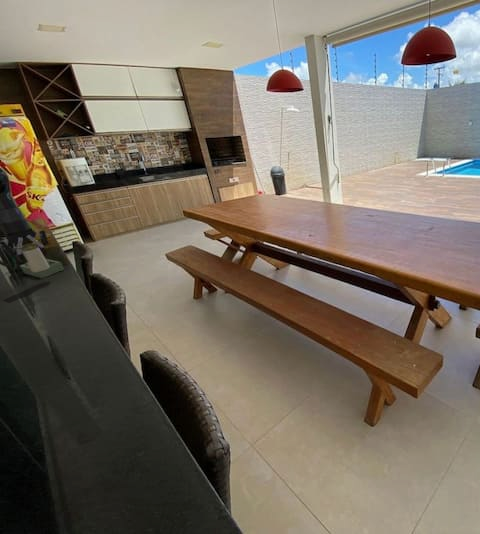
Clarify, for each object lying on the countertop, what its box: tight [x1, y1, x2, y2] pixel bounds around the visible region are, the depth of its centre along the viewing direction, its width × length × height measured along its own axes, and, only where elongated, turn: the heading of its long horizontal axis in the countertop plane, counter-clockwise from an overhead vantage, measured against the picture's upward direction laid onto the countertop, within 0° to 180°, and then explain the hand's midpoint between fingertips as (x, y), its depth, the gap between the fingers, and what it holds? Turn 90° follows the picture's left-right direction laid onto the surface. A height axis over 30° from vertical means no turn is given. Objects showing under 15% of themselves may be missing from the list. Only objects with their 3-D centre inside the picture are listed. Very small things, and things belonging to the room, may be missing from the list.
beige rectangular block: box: [21, 246, 50, 272], centre depth 125 cm, size 6×6×9 cm
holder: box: [19, 258, 66, 279], centre depth 139 cm, size 8×16×4 cm, turn 66°
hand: (35, 259), depth 125 cm, fingers closed on beige rectangular block, 5 cm apart
